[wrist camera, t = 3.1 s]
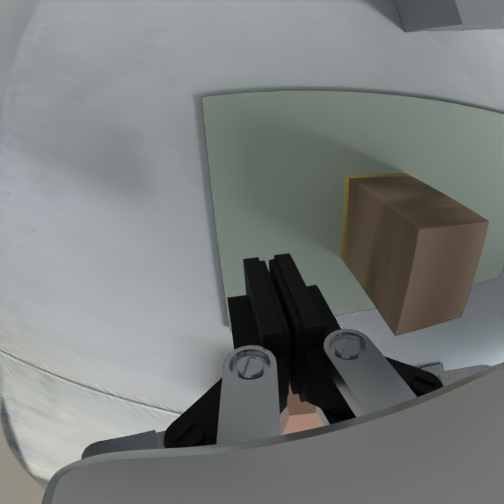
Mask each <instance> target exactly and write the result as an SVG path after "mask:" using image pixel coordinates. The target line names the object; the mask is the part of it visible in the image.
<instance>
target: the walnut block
mask: <svg viewBox="0 0 504 504" xmlns="http://www.w3.org/2000/svg"><path fill="white" fill-rule="evenodd" d="M488 225H489V221H488V220H486V219H485V218H483V217H482V216H480V215H479V214H477V213H475V212H474V211H472V210H471V209H469V208H467V207H466V206H464V205H462V204H461V203H459V202H457V201H456V200H454V199H452V198H450V197H449V196H447V195H445V194H444V193H442V192H440V191H438V190H436V189H435V188H433V187H431V186H429V185H427V184H425V183H424V182H422V181H420V180H418V179H416V178H414V177H412V176H410V175H408V174H406V173H395V174H364V175H345V183H344V208H343V227H342V243H341V256H340V258H341V259H342V260H343V262H344V263H345V265H346V266H347V267H348V269H349V270H350V271H351V273H352V274H353V276H354V277H355V278H356V280H357V281H358V283H359V284H360V285H361V287H362V288H363V290H364V291H365V292H366V294H367V295H368V297H369V298H370V300H371V301H372V303H373V304H374V305H375V307H376V308H377V310H378V311H379V313H380V314H381V316H382V317H383V319H384V320H385V322H386V323H387V324H388V326H389V327H390V329H391V330H392V332H393V333H394V335H395V336H397V335H401V334H404V333H408V332H412V331H415V330H419V329H422V328H426V327H429V326H433V325H436V324H439V323H443V322H446V321H449V320H452V319H455V318H458V317H461V315H462V313H463V310H464V307H465V304H466V302H467V299H468V296H469V293H470V290H471V287H472V284H473V281H474V277H475V274H476V271H477V268H478V264H479V261H480V257H481V253H482V250H483V246H484V242H485V238H486V234H487V229H488Z"/></svg>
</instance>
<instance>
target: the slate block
mask: <svg viewBox="0 0 504 504" xmlns="http://www.w3.org/2000/svg"><path fill="white" fill-rule="evenodd" d="M394 1H395V4H396V7H397V10H398V13H399V16H400V18H401V21H402V25H403V28H404V31H405V32H419V31H464V30H482V29H504V0H394Z"/></svg>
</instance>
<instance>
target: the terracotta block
mask: <svg viewBox="0 0 504 504" xmlns="http://www.w3.org/2000/svg"><path fill="white" fill-rule="evenodd" d="M322 426H324V425H323V424H322V422H321V420H320V418H319V416H318V414H317V412H316V409H315V406H314V405H312V404H310V403H308V402H307V401H305V402H301V401H300V398H299V395H298V394H294V395H293V393H292V391H291V387H290V384H289V395H288V396H287V407H286V408H285V409H284V410H283V412H282V413H281V414H280V427H281V435H284V434H289V433H294V432H299V431H304V430H309V429H313V428H317V427H322Z"/></svg>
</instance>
